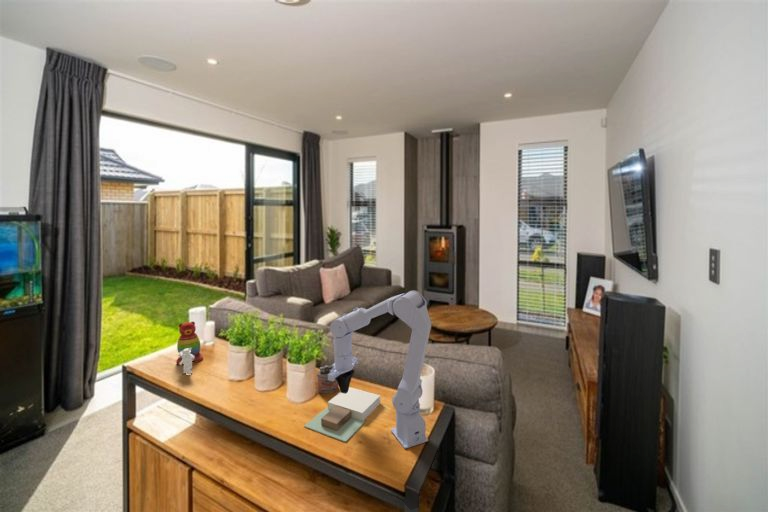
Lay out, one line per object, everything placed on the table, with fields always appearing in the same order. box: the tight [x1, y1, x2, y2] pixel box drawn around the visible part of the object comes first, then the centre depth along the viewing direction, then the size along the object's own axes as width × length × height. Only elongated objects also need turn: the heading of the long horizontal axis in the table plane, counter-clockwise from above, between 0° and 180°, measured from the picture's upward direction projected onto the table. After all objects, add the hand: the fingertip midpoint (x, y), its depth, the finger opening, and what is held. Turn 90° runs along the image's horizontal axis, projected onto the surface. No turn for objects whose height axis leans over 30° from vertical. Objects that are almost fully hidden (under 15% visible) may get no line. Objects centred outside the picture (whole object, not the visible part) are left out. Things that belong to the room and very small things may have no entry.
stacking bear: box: [176, 321, 204, 365], centre depth 159 cm, size 11×10×18 cm
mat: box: [303, 408, 366, 443], centre depth 110 cm, size 11×16×1 cm
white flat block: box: [327, 386, 381, 421], centre depth 120 cm, size 12×14×3 cm
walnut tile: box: [321, 406, 351, 431], centre depth 110 cm, size 8×6×2 cm
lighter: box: [316, 364, 340, 394], centre depth 130 cm, size 8×3×10 cm, turn 105°
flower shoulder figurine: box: [177, 348, 195, 374], centre depth 145 cm, size 9×4×12 cm, turn 61°
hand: (344, 392), depth 113 cm, fingers closed
